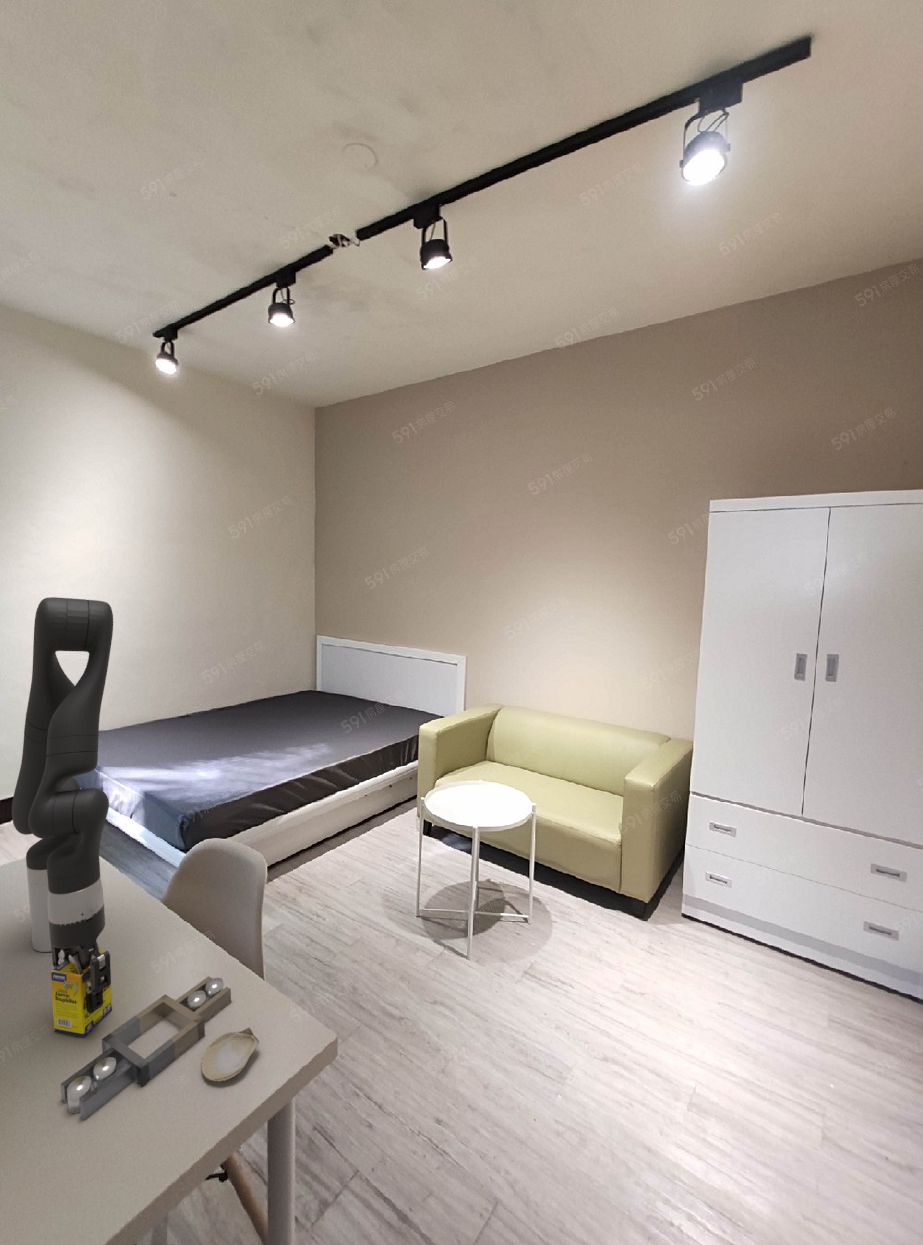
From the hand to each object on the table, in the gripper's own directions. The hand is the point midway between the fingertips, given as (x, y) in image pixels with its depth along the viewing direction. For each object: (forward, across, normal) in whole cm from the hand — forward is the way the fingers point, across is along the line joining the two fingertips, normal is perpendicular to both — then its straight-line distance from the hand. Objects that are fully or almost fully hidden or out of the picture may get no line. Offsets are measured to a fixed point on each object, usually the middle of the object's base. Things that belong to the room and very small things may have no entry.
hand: (83, 1000), depth 92 cm
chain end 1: (+4, +15, -3) cm, 16 cm away
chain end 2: (+4, +15, +9) cm, 18 cm away
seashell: (+4, +28, +7) cm, 29 cm away
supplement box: (+4, 0, 0) cm, 4 cm away
